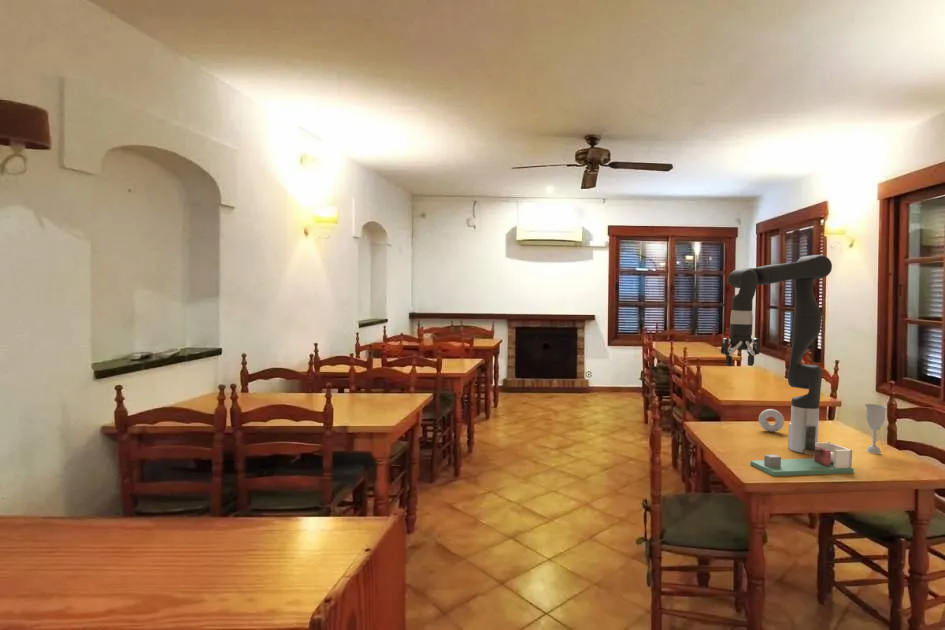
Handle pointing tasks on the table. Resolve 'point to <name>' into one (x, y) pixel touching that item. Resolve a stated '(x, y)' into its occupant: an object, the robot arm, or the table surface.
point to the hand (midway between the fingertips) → (739, 365)
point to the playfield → (795, 466)
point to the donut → (771, 413)
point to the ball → (832, 458)
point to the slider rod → (819, 453)
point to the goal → (838, 454)
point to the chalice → (875, 423)
